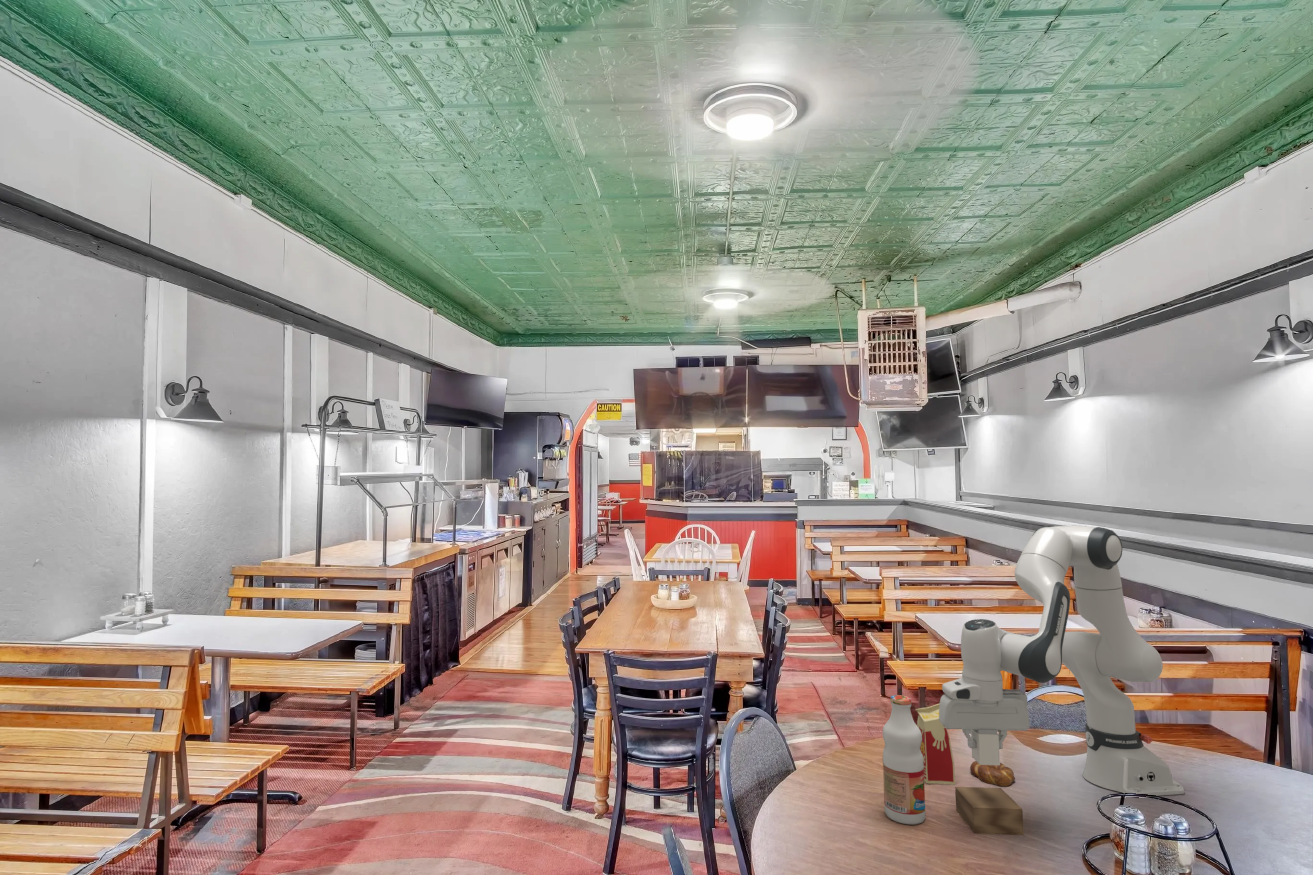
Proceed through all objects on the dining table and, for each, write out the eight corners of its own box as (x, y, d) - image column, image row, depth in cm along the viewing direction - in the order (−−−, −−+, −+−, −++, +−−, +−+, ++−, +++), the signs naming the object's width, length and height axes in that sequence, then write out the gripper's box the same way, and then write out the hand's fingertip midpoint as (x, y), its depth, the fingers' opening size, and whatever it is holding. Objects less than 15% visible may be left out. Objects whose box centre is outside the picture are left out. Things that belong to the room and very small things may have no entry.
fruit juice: (883, 804, 165) (880, 690, 168) (923, 809, 162) (919, 693, 165) (885, 822, 156) (881, 701, 159) (927, 828, 153) (922, 705, 156)
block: (1002, 813, 161) (1000, 787, 162) (1023, 836, 150) (1022, 808, 151) (956, 811, 162) (955, 786, 162) (974, 834, 151) (973, 807, 151)
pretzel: (1024, 788, 175) (1024, 774, 175) (983, 788, 175) (982, 773, 176) (1003, 769, 187) (1002, 756, 187) (964, 768, 187) (963, 755, 188)
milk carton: (945, 771, 185) (942, 698, 187) (957, 785, 176) (953, 708, 178) (912, 769, 186) (909, 697, 188) (922, 783, 177) (919, 707, 179)
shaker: (991, 757, 159) (989, 723, 160) (1000, 765, 155) (998, 730, 156) (972, 757, 160) (970, 723, 160) (980, 764, 155) (978, 729, 156)
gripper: (1020, 685, 161) (1023, 743, 160) (935, 684, 163) (937, 741, 161) (1033, 693, 155) (1036, 753, 154) (945, 691, 156) (947, 751, 155)
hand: (985, 747), depth 158 cm, fingers closed on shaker, 5 cm apart
